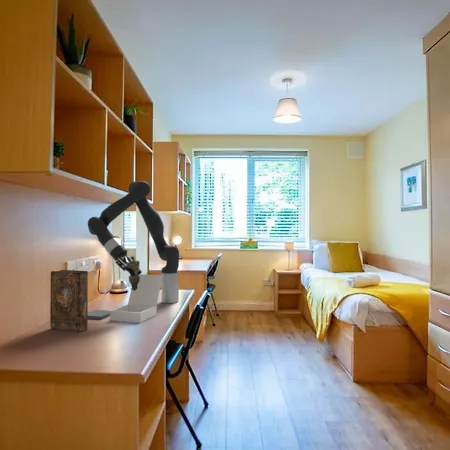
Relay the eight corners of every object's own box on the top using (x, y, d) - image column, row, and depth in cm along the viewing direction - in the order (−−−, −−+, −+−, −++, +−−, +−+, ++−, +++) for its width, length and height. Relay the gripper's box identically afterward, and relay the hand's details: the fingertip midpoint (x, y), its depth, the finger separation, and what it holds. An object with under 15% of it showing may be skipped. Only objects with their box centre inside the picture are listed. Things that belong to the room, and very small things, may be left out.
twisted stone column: (128, 291, 172) (128, 260, 172) (127, 289, 178) (127, 259, 177) (140, 290, 175) (140, 260, 175) (138, 289, 180) (138, 259, 180)
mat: (94, 312, 186) (94, 309, 186) (115, 314, 183) (115, 311, 183) (79, 318, 175) (79, 314, 175) (101, 319, 172) (101, 316, 172)
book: (89, 329, 155) (89, 271, 156) (80, 332, 150) (80, 272, 151) (60, 325, 161) (60, 269, 161) (50, 328, 156) (50, 271, 156)
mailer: (135, 309, 192) (135, 274, 193) (162, 311, 188) (162, 275, 188) (110, 320, 170) (110, 279, 171) (140, 322, 166) (140, 281, 166)
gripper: (112, 244, 171) (134, 270, 168) (128, 243, 185) (149, 267, 182) (102, 255, 173) (124, 281, 169) (119, 253, 187) (139, 277, 183)
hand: (137, 274), depth 176 cm, fingers closed on twisted stone column, 5 cm apart
